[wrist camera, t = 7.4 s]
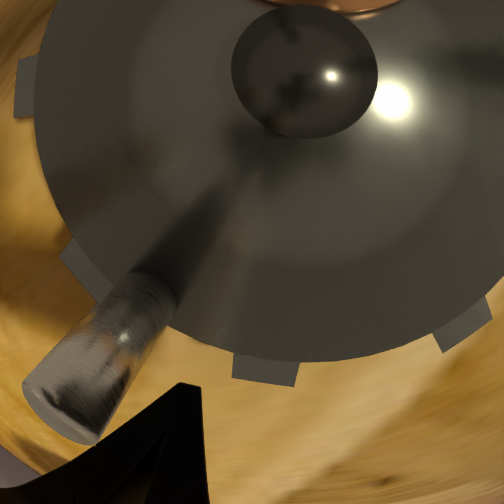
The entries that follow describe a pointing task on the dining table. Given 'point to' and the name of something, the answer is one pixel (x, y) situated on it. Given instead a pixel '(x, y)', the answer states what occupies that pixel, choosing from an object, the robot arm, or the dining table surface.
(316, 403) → the dining table surface
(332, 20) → the sprocket
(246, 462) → the dining table surface
